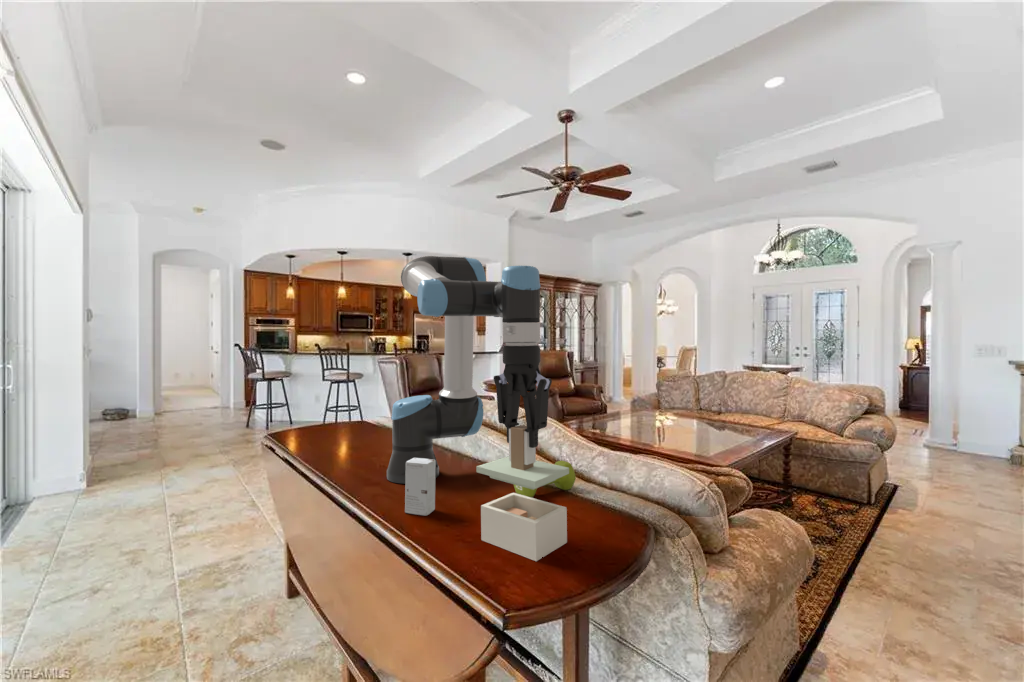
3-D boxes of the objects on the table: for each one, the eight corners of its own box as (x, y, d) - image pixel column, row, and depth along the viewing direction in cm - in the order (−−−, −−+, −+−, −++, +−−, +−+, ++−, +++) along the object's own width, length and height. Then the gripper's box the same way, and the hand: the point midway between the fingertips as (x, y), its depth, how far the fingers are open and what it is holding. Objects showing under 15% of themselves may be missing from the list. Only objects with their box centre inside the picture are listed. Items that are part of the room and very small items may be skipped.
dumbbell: (560, 483, 130) (560, 457, 130) (578, 491, 123) (578, 464, 123) (510, 494, 121) (509, 466, 121) (527, 503, 114) (526, 474, 114)
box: (481, 540, 94) (480, 505, 94) (513, 524, 101) (513, 492, 101) (536, 561, 85) (535, 523, 85) (567, 542, 92) (566, 507, 92)
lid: (476, 478, 94) (476, 426, 94) (512, 465, 102) (511, 418, 102) (535, 494, 84) (534, 437, 84) (569, 479, 92) (568, 427, 92)
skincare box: (404, 513, 109) (403, 461, 108) (413, 506, 113) (413, 457, 113) (427, 516, 107) (427, 463, 107) (436, 509, 111) (436, 458, 111)
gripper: (479, 344, 95) (480, 458, 96) (542, 345, 84) (543, 473, 85) (503, 343, 101) (504, 451, 101) (566, 344, 90) (566, 464, 91)
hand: (522, 461), depth 93 cm, fingers closed on lid, 3 cm apart
